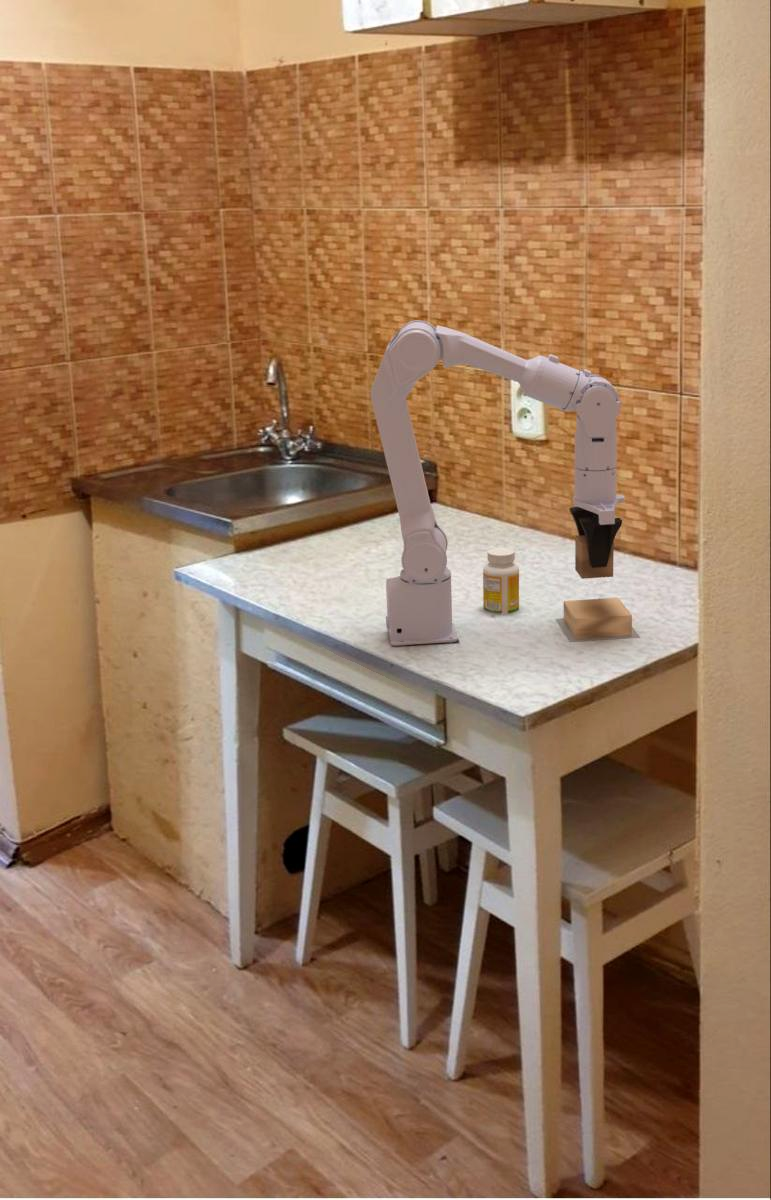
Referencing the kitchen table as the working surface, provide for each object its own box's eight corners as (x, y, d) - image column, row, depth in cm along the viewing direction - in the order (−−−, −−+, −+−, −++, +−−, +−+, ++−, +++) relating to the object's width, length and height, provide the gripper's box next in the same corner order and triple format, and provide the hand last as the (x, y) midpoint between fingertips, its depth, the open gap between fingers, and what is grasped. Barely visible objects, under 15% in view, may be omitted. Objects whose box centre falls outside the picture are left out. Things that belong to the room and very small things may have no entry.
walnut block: (581, 578, 180) (582, 544, 178) (575, 569, 184) (575, 535, 182) (613, 576, 180) (613, 542, 179) (605, 567, 184) (606, 533, 183)
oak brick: (575, 639, 181) (575, 618, 180) (563, 620, 188) (563, 600, 187) (631, 635, 181) (632, 615, 180) (617, 617, 189) (618, 597, 188)
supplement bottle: (487, 619, 192) (485, 557, 189) (480, 608, 197) (479, 547, 194) (522, 617, 192) (522, 555, 189) (515, 606, 197) (514, 545, 194)
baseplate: (569, 645, 180) (569, 641, 180) (555, 622, 189) (555, 618, 189) (640, 641, 180) (640, 637, 180) (622, 618, 190) (622, 614, 190)
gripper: (637, 476, 171) (636, 574, 175) (611, 454, 184) (610, 546, 189) (585, 479, 170) (584, 578, 174) (562, 457, 184) (562, 549, 188)
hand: (594, 561), depth 182 cm, fingers closed on walnut block, 4 cm apart
